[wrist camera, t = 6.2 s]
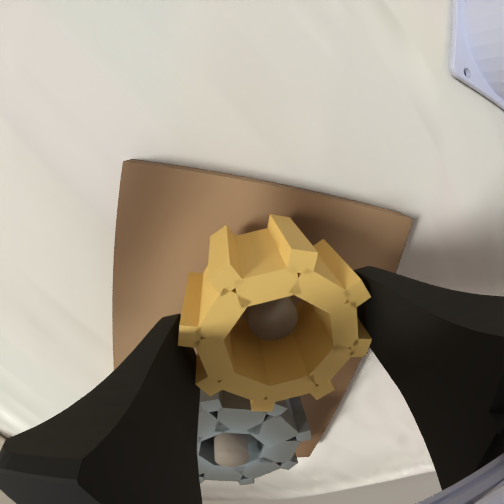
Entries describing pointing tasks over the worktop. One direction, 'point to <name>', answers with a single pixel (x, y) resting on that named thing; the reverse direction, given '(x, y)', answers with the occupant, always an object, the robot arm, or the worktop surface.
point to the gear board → (243, 207)
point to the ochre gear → (263, 290)
